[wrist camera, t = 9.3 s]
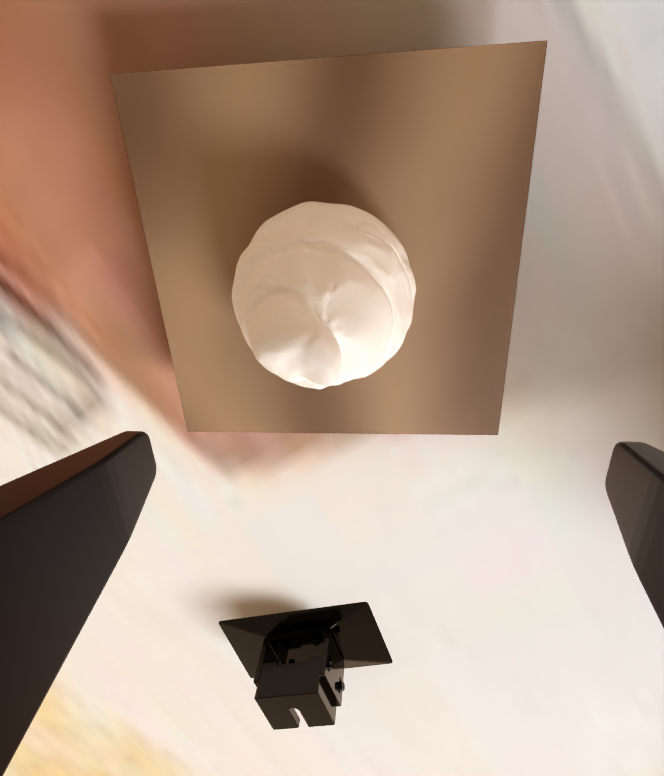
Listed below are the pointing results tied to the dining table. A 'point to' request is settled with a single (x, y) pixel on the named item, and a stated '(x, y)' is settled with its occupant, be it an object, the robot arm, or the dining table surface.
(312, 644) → the build plate
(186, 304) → the walnut stand
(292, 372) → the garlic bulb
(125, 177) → the dining table surface
